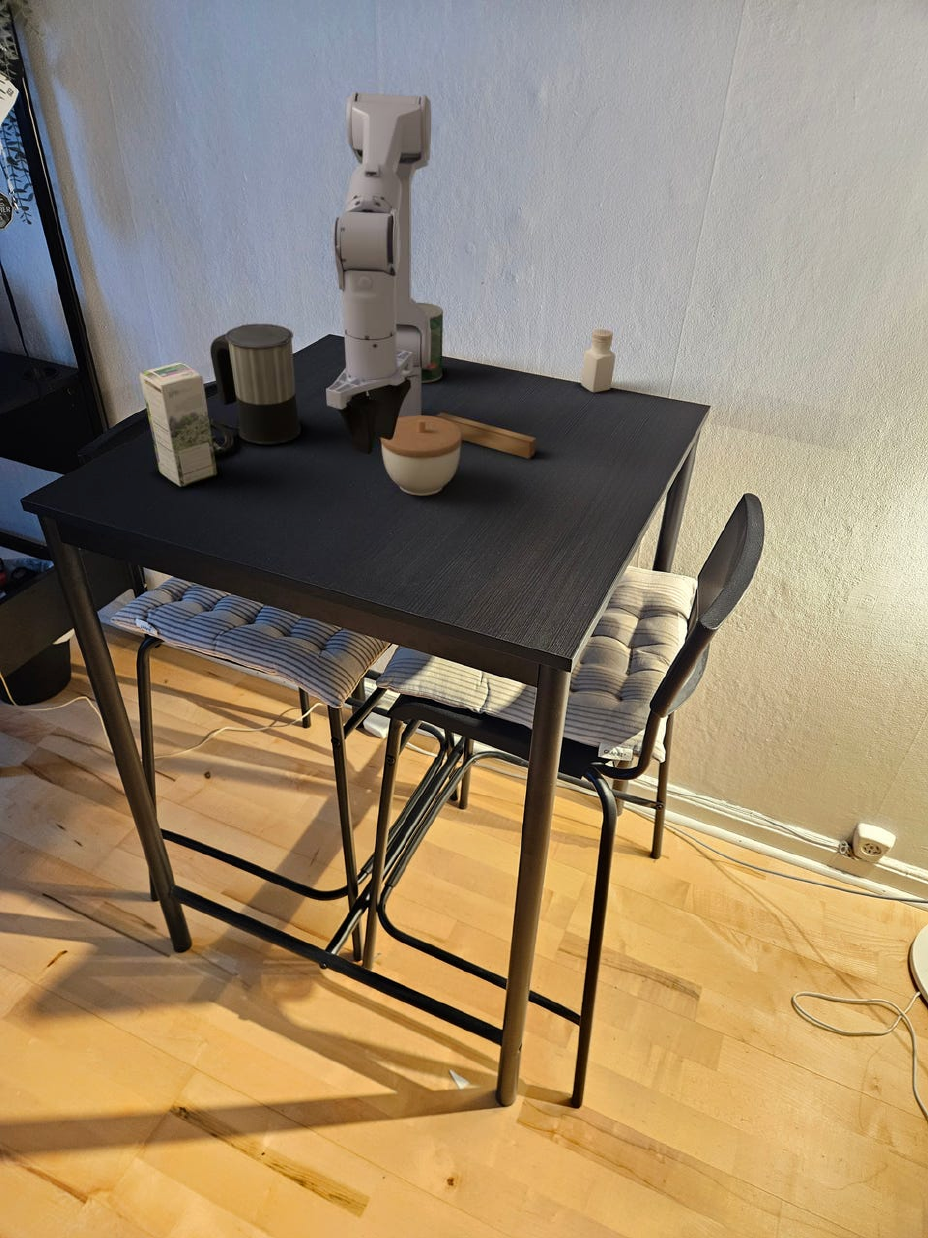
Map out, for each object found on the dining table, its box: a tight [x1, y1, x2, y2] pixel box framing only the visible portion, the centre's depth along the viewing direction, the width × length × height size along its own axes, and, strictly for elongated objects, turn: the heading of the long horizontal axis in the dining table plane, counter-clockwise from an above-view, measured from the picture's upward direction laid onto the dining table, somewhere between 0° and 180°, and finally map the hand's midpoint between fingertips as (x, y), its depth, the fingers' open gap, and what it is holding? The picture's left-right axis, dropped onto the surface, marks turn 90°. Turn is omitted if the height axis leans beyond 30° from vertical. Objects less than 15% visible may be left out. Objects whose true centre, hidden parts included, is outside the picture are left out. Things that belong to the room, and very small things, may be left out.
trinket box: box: [379, 414, 463, 496], centre depth 111 cm, size 11×11×9 cm
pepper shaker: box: [580, 328, 616, 393], centre depth 140 cm, size 4×4×10 cm
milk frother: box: [209, 323, 302, 456], centre depth 118 cm, size 14×16×15 cm
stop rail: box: [434, 412, 537, 459], centre depth 124 cm, size 16×2×3 cm, turn 60°
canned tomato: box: [417, 302, 444, 384], centre depth 141 cm, size 8×8×11 cm
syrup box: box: [139, 361, 218, 488], centre depth 110 cm, size 6×6×14 cm
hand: (374, 444), depth 100 cm, fingers open, 4 cm apart
